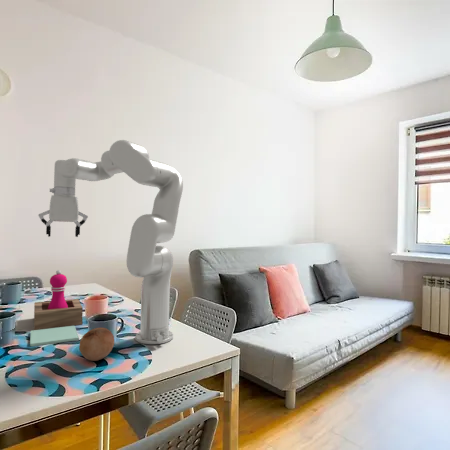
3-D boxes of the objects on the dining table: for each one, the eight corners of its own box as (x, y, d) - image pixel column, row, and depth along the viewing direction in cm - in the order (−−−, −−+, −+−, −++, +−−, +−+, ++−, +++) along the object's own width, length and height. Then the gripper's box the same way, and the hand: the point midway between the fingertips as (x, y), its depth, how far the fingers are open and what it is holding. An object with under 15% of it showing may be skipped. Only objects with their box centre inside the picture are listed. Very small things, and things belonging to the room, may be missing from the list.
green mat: (78, 339, 112) (78, 337, 112) (30, 346, 105) (30, 344, 105) (74, 327, 124) (74, 325, 124) (30, 333, 117) (30, 330, 117)
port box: (82, 324, 128) (82, 307, 128) (33, 330, 121) (34, 312, 120) (77, 313, 142) (78, 298, 142) (34, 318, 135) (34, 302, 134)
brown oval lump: (89, 374, 94) (78, 348, 90) (82, 354, 101) (71, 329, 97) (122, 356, 99) (113, 331, 94) (112, 338, 106) (103, 314, 101)
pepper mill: (59, 324, 127) (60, 271, 127) (42, 323, 129) (43, 270, 128) (71, 319, 134) (72, 269, 134) (55, 318, 136) (56, 268, 135)
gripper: (39, 190, 124) (37, 237, 124) (89, 193, 132) (88, 237, 132) (39, 191, 130) (37, 235, 131) (87, 194, 139) (85, 236, 139)
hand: (63, 236), depth 131 cm, fingers open, 9 cm apart
